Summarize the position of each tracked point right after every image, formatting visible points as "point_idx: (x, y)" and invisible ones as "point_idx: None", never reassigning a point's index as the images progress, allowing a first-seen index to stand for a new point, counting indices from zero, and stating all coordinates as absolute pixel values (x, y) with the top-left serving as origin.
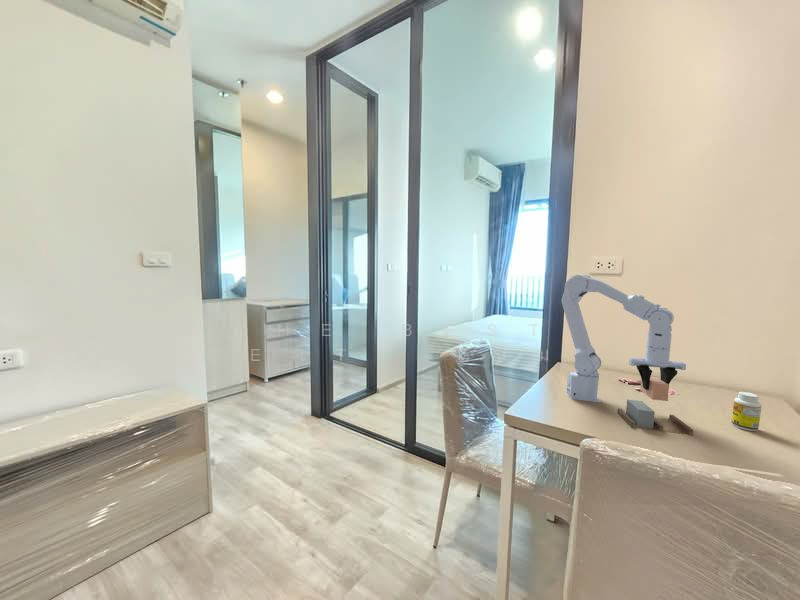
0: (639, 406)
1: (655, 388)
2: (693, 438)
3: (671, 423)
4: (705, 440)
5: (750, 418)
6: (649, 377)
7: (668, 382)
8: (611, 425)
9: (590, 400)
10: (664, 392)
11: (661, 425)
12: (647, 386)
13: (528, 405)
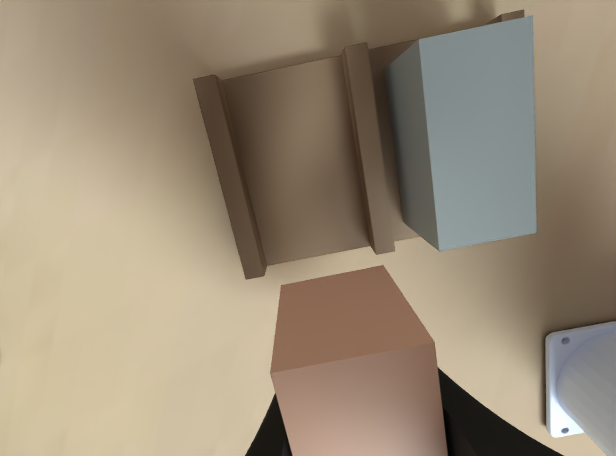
0: (496, 112)
1: (394, 313)
2: (205, 67)
3: (269, 207)
4: (153, 71)
5: None
6: (484, 448)
7: (258, 453)
8: (589, 21)
9: (603, 331)
10: (308, 313)
11: (354, 52)
12: None
13: None
